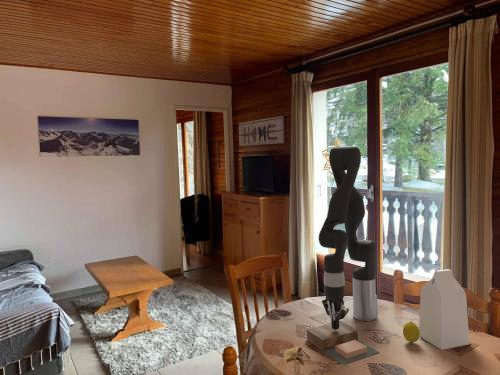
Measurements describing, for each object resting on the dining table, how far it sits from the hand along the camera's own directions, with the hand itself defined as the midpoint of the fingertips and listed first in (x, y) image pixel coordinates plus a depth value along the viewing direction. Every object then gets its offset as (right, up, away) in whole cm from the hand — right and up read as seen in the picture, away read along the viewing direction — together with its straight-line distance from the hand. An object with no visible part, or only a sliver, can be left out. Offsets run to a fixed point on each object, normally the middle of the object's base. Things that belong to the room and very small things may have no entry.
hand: (335, 328), depth 141 cm
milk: (+39, -4, -1) cm, 40 cm away
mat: (+4, -5, -8) cm, 10 cm away
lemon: (+27, -4, -3) cm, 27 cm away
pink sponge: (+4, -3, -8) cm, 10 cm away
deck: (-1, -5, +1) cm, 5 cm away
